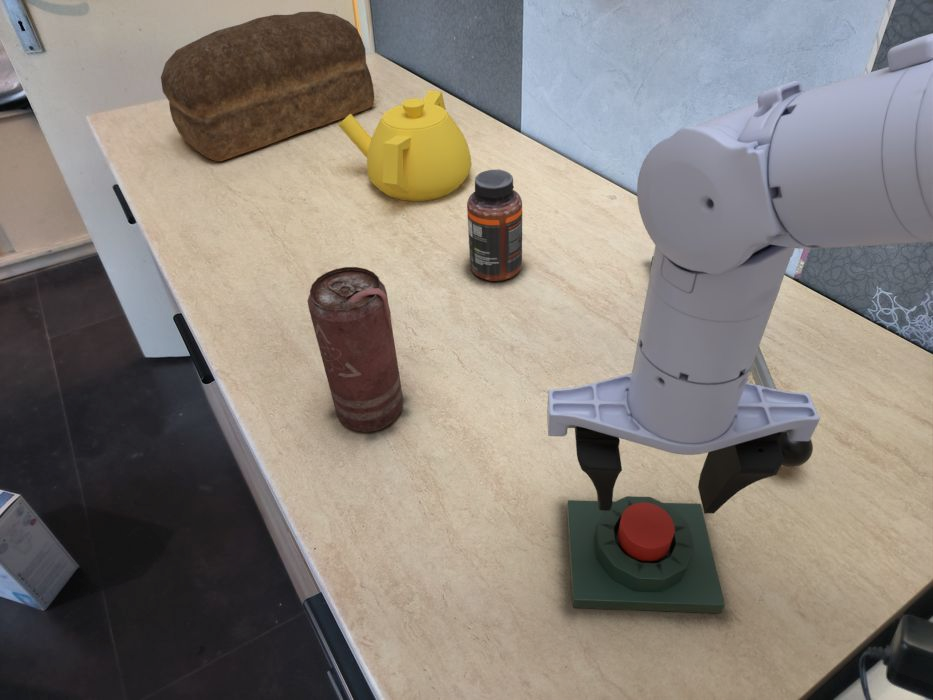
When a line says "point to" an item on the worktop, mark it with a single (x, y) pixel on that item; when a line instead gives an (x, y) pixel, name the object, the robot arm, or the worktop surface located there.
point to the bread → (266, 81)
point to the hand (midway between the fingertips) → (654, 498)
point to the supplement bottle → (495, 226)
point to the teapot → (414, 149)
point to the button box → (641, 562)
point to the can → (357, 347)
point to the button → (645, 531)
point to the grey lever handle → (791, 450)
